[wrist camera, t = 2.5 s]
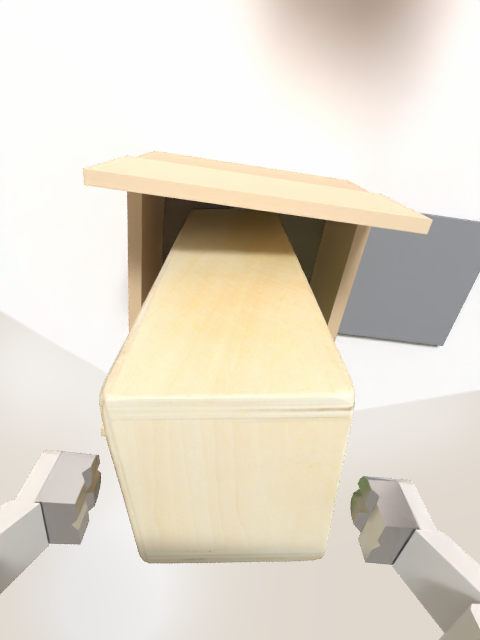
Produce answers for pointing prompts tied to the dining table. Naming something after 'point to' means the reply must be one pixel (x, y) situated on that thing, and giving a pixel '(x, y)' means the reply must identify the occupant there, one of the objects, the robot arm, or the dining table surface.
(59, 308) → the dining table surface
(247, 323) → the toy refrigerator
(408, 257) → the mat
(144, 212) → the carton
